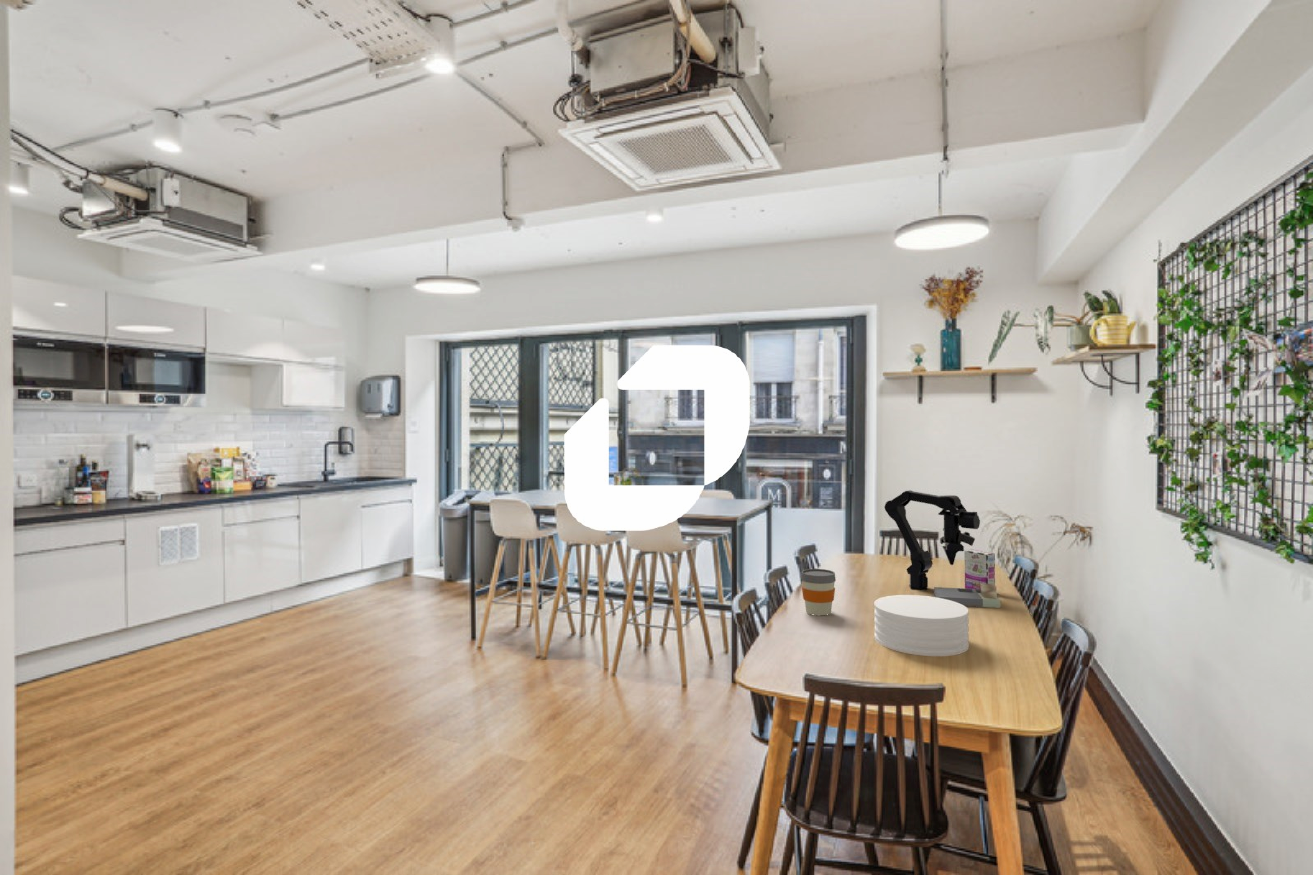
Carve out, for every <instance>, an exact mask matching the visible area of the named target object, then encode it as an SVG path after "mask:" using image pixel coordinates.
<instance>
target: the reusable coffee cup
mask: <svg viewBox="0 0 1313 875" xmlns="http://www.w3.org/2000/svg"><path fill="white" fill-rule="evenodd" d="M800 580H801V583H802V586H801V590H802V591H801V592H802V598H803V600H804V605H805V613H806V612H807V613H808V615H810V614H814V615H827V614H830V615H831V614H832V607H833V602H834V601H835V600H834V599H835V592H836V587H835V583H836V572H835V571H833V570H829V569H823V568H822V569H821V568H809V569H803V570H801V575H800ZM807 613H806V614H807ZM814 615H813V616H814ZM827 616H828V615H827Z"/></svg>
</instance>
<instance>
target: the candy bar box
mask: <svg viewBox="0 0 1313 875" xmlns="http://www.w3.org/2000/svg"><path fill="white" fill-rule="evenodd" d="M981 583H984V584H994V585H995V586H996V554H995V553H994V552H988V551H983V550H977V549H967V550H965V549H964V589H981Z"/></svg>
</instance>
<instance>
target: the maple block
mask: <svg viewBox="0 0 1313 875" xmlns="http://www.w3.org/2000/svg"><path fill="white" fill-rule="evenodd" d="M981 595H982V597H983V598H996V599H997V597H998V595H997V586H996V584H995V585H994V584H984V583H981Z"/></svg>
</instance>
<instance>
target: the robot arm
mask: <svg viewBox="0 0 1313 875" xmlns="http://www.w3.org/2000/svg"><path fill="white" fill-rule="evenodd" d="M911 501H912V502H916V503H922V504H927V505H933V506H935V507H937V508H939V509H941V511H939V512H938V513H937V515H939V516H943V527H942V531H943V536H942V537H940V538H939V543H940V544H941V545H942V548H943V551H944V553H945V555H946V557H947V558H946V559H947V560H948V562H949V563H948V564H950V565H951V566H953V565H954V564H955V560H956V557H957V553H958V552H965V546H964V545H963V544H962V543H965V544H967V545H969V546H971V547H972V546H973V545H974V543H975V540H976V538H975V537H973V536H972V535H971V533H970V532H968V531H964V532H962V530H960V528H962V529H969V530H970V529H971V530H972V529H973V530H978V529H979V528H980V524H981V520H980V517H979V515H978V511H967V509H966V508H965V506H964V505H963V504H962V501H961V498H960V497H959V496H957V495H953V494H951V495H947V494H946V495H938V494H937V495H936V494H932V493H931V494H930V493H925V492H918V491H914V490H910V489H909V490H904V491H903V492H902V493H900V494H899V495H897V496H896V497H894V498H892V499H891V500H887V501H886V502H885V504H884V511H885V512H886V514H887V515H888V517H889V518H891V519H892V520H893V521H894V522H895V524H896V526H897V528H898V530H899V533H901V536H902V538H903V541H904V542H905V545H906V547H907V548H908V551H909V552H910V553H909V556H910V557H909V558H910V562H911V565H909V566H908V567H907V568H906V573H907V574H908V575H909V584H908V586H909V588H910V589H911V590H923V591H924V590H925V591H926V590H928V587H929V581H928V580H929V579H928V576H927V573H928V572H929V571H930V569H931V568H932V567H933V564H934V563H933V560H934V559H933V558H932V556H931V554H930V551H929V550H924V549H923V548H922V547H921V545H920V542H919V541H918V539H917V536H916V535H915V533H914V531H913V528H912V527H911V524H910V523H909V521H908V518H907V510H906V506H907V505H909V503H911ZM943 544H944V545H943Z"/></svg>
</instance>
